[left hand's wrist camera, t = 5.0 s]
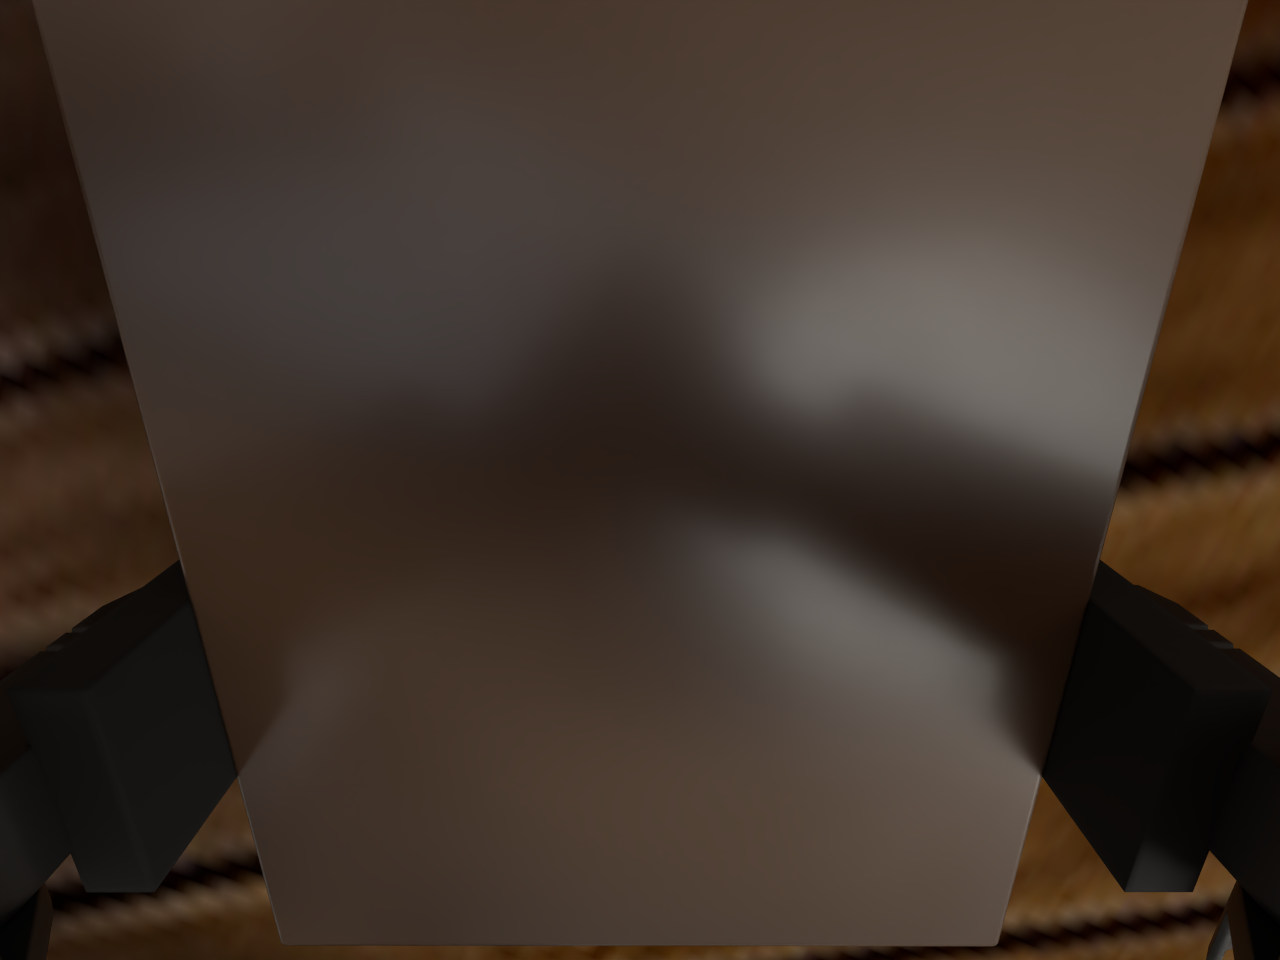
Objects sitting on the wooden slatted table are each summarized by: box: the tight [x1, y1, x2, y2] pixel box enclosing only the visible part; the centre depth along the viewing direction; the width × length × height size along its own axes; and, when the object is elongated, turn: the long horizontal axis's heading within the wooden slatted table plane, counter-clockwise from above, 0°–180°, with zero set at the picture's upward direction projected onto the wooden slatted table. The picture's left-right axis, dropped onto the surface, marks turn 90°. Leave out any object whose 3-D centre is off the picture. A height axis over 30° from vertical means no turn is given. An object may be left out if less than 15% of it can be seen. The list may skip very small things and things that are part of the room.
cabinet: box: [31, 0, 1248, 946], centre depth 12 cm, size 18×11×10 cm, turn 0°
